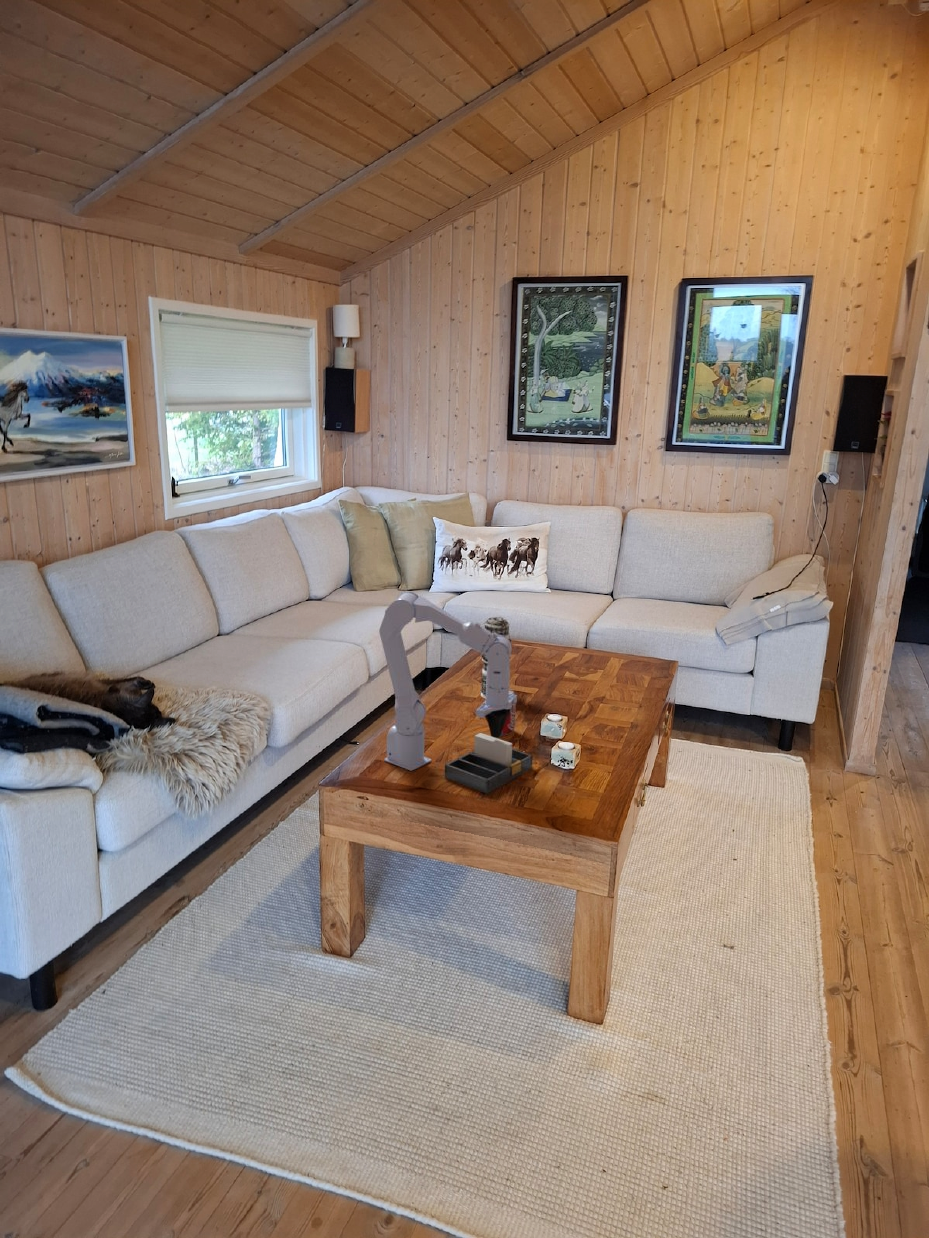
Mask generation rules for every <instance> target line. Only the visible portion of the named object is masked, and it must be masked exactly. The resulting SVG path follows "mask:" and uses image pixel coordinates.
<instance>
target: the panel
mask: <svg viewBox="0 0 929 1238" xmlns="http://www.w3.org/2000/svg"><path fill="white" fill-rule="evenodd" d="M473 746H474V748H473V750H474V754H475V755H478V756H481V757H484V758H487V759H490V760H492V761H495V762H498V763H501V764H504V765H507V766H509V767H510V765H511V763H512V749H513V743H512V742H509V741H506V740H504V739H503V740H502V739H500V738H495V737H492V736H491V735H488V734H485V733H481V732H479V733H477V734H475V735H474V745H473Z"/></svg>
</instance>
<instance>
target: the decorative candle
mask: <svg viewBox="0 0 929 1238" xmlns="http://www.w3.org/2000/svg"><path fill="white" fill-rule="evenodd" d="M483 625H484V629H486V630H488V631H489V632H491V633H493V634H494V633H497V634H498V635H504V636H505V637H506V638H508V639H509V641H510V642H512V639H511V638H510V637H511V636H510V632H509V631H510V625H511V623H510V622H508V620H507V619H506V618H505V617H501V616H499V617H498V616H491V617H489V618H487V620H486V621H484V622H483ZM481 660H482V662H483V664H482V665H483V667H482V673H481V675H480V676H481V679H480V681H481V684H480V687H481V689H480V696H481V698H482V699H485V700H486V677H487V666H488V660H487V658H486V655H484V654H481Z"/></svg>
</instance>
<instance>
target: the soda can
mask: <svg viewBox="0 0 929 1238" xmlns="http://www.w3.org/2000/svg"><path fill="white" fill-rule="evenodd" d="M509 694H514V695H515V692H514V690H512V689H510V688H509ZM511 705H512V708H510V710H511V711H510V715H509V716H508V718H507V720H506V722H505V724H504V727H503V730H502V734H501V736H509V735H510V734H513V732H515V726H516V713H517V712H516V709H517V703H511ZM508 734H509V735H508Z"/></svg>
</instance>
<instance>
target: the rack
mask: <svg viewBox="0 0 929 1238" xmlns="http://www.w3.org/2000/svg"><path fill="white" fill-rule="evenodd" d="M533 757H534V756H533V755H532V754H529V753H526V752H523V751H520V750H517V749H514V748H512V763H511V765H510V767H509V766H507V765H504V764H501V763H498V762H495V761H492V760H490V759H487V758H484V757H481V756H478V755H475V754H474V749H473V750H472V751H469V752H467V753H465V754H463V755H461V756H460V757H458V758H456V759H454V760H451V761H449V762H448V763H446V764H444V778H445V779H447V780H449V781H453V782H455V783H457V784H460V785H463V786H465V787H467V788H470V789H474V790H476V791H478V792H481V793H483V794H486V795H488V794H490V793H491V792H493V791H495V790H497V789H499V788H501V787H502V786H504V785H506V784H507V783H509V782H510V781H512V780H514V779H516V778H517V777H519V776H522V774H524V773H526V772H527V771H530V770H531V769H532V768H533Z"/></svg>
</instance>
